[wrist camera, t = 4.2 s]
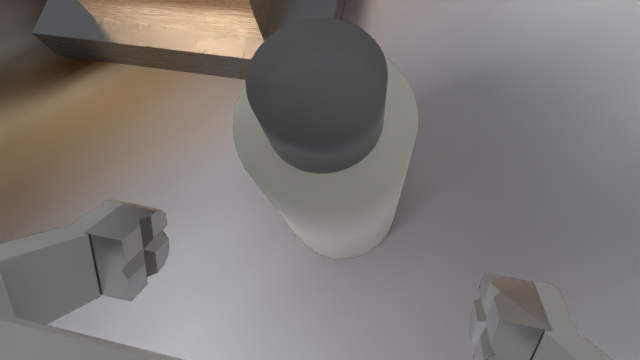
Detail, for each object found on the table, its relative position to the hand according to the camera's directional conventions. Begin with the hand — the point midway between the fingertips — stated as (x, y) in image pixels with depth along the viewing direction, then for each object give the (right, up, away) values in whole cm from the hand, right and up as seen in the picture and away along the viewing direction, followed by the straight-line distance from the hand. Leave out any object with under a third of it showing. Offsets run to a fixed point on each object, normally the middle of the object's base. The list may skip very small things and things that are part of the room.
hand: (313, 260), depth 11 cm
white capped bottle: (+1, +1, +9) cm, 9 cm away
